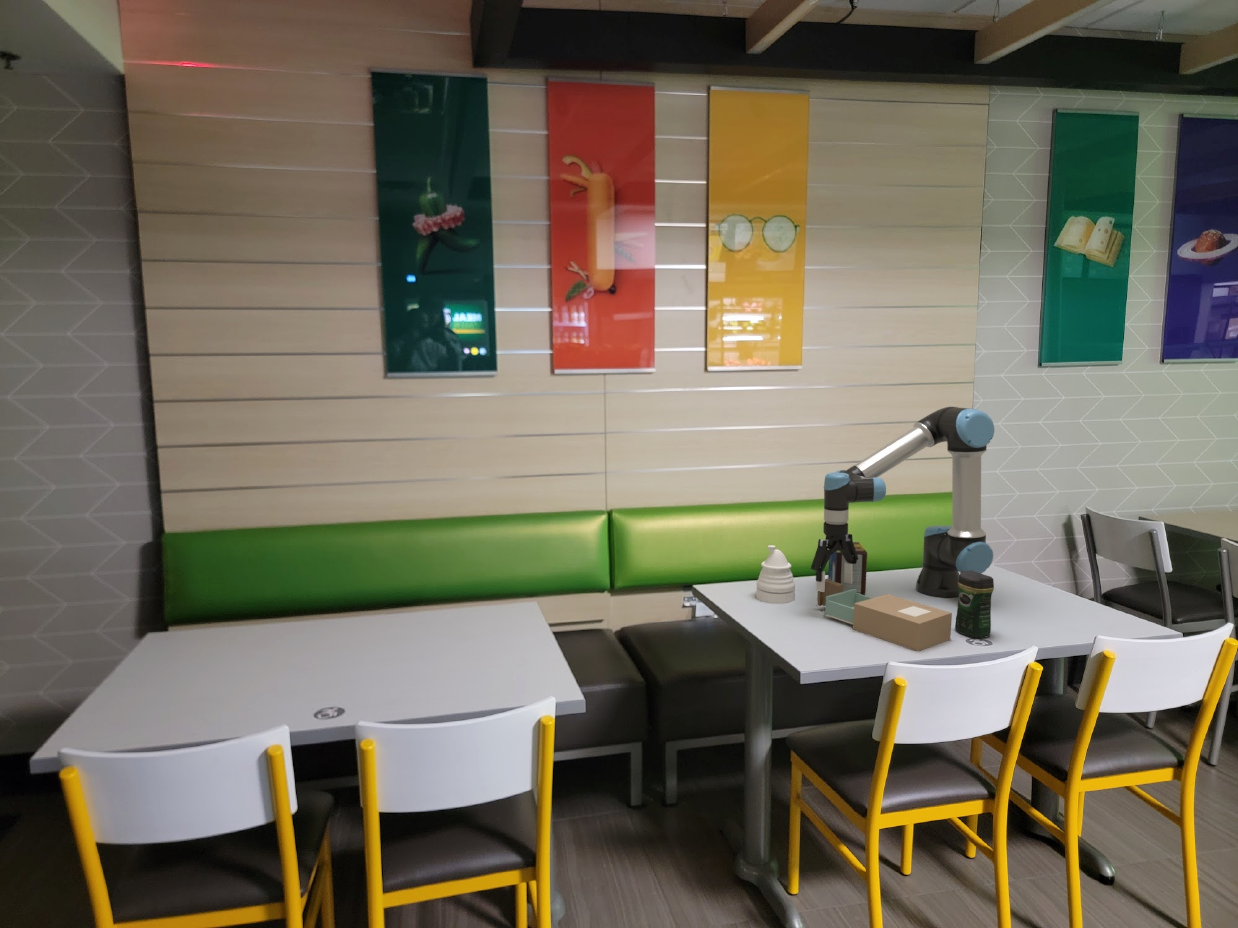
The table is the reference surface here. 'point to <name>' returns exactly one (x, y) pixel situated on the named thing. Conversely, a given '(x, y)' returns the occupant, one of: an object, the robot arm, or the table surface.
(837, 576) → the protein box
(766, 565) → the honey pot
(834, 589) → the tray
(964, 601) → the coffee jar
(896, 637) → the cardboard box
